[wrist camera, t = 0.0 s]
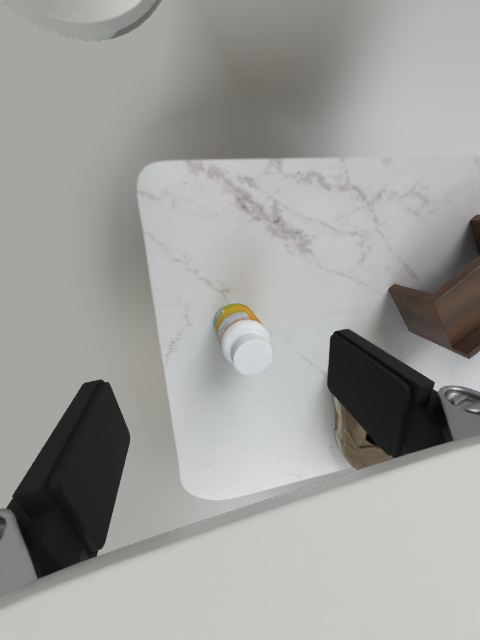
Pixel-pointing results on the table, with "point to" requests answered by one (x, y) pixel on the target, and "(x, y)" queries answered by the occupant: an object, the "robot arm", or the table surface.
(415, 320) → the shelf
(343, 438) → the slip on shoe
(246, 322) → the supplement bottle
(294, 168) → the table surface
